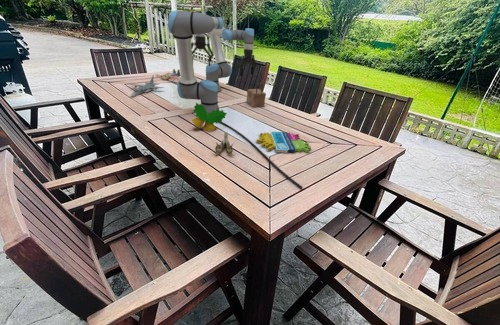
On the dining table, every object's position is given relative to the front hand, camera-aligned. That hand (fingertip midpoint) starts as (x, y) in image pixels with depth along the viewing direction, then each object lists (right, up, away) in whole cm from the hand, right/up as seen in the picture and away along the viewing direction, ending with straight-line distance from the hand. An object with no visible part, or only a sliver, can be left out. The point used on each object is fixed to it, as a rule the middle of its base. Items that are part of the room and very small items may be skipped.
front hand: (201, 65), depth 209 cm
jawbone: (+26, -72, -70) cm, 104 cm away
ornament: (+14, -56, -44) cm, 73 cm away
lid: (+44, -21, +2) cm, 49 cm away
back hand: (+37, -1, +21) cm, 42 cm away
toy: (-47, +14, +75) cm, 89 cm away
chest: (+44, -30, +8) cm, 53 cm away
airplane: (-52, -15, +21) cm, 58 cm away
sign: (+58, -66, -56) cm, 105 cm away
